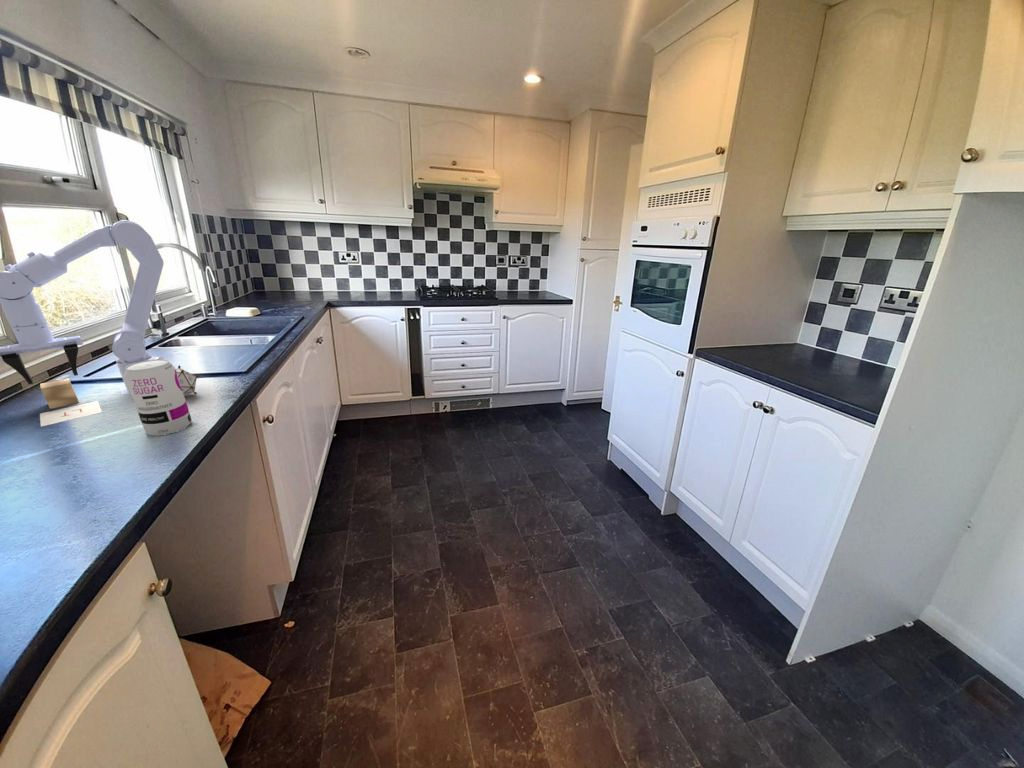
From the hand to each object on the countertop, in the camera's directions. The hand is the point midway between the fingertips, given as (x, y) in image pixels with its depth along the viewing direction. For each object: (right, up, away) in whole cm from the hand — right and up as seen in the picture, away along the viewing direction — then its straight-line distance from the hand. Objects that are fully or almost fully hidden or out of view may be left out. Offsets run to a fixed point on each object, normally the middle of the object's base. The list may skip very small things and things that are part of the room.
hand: (54, 378), depth 101 cm
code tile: (+8, -9, -3) cm, 12 cm away
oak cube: (0, -7, +2) cm, 7 cm away
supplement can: (+37, -11, -10) cm, 40 cm away
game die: (+26, -5, +7) cm, 28 cm away
